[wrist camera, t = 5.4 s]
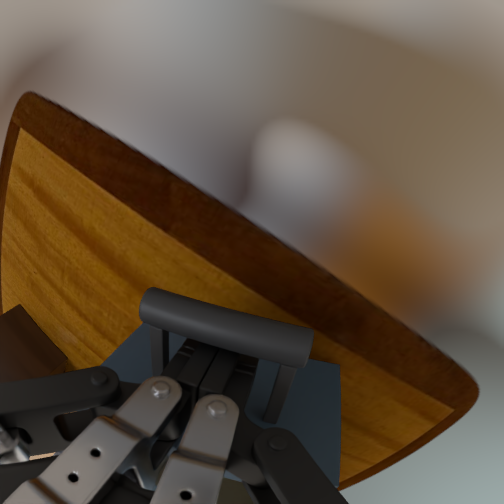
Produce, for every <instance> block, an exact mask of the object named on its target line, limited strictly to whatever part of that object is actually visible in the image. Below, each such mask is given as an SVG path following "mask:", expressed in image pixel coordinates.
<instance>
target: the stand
mask: <svg viewBox="0 0 504 504" xmlns="http://www.w3.org/2000/svg"><path fill="white" fill-rule="evenodd" d="M66 362H67V357H66V356H65V355H64V354H63V353H62V352H61V351H60V350H59V349H58V348H57V347H56V346H55V345H54V344H53V343H52V341H51V340H50V339H49V338H48V337H47V336H46V335H45V334H44V333H43V332H42V330H41V329H40V328H39V327H38V326H37V325H36V324H35V322H34V321H33V320H32V319H31V318H30V316H29V315H28V314H27V313H26V312H25V310H24V309H23V308H22V307H21V305H20V304H19V305H17V306H15V307H14V308H12V309H11V310H9V311H7V312H6V313H4V314H3V315H1V316H0V383H4V382H12V381H19V380H25V379H32V378H38V377H44V376H49V375H55V374H60V373H64V371H65V366H66Z"/></svg>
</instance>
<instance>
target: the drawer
mask: <svg viewBox="0 0 504 504" xmlns="http://www.w3.org/2000/svg"><path fill="white" fill-rule="evenodd" d="M139 316H140V319H141V321H142V322H144V323H143V324H142V325H141V326H140V327H139V328H138V329H136V330H135V331H134V332H133V333H132V334H131V335H130V336H129V337H128V338H127V339H126V340H125V341H124V342H123V343H122V344H121V345H120V346H119V347H118V348H117V349H116V350H115V351H114V352H113V353H112V354H111V355H110V356H109V357H108V358H107V359H106V360H105V361H104V362H103V363H102V365H101V366H105V367H108V368H111V369H112V370H114V371H115V372H116V373H117V375H118V377H119V381H124V382H131V383H138V384H140V383H143V382H144V381H145V380H146V379H148V378H150V377H153V376H160V374H161V373H162V372H163V370H164V369H165V367H166V366H167V365H168V363H169V362H170V361H171V359H172V358H173V356H174V355H175V354H176V353H177V351H178V350H179V348H180V347H181V346H182V344H183V343H184V341H185V340H186V339H187V338H190V339H193V340H196V341H199V342H202V343H206V344H209V345H212V346H216V347H219V348H223V349H226V350H230V351H233V352H237V353H240V354H244V355H248V356H252V357H256V358H259V362H258V367H257V371H256V375H255V379H254V383H253V386H252V389H251V392H250V395H249V398H248V401H247V404H246V407H245V410H244V412H245V414H246V416H247V417H248V418H249V420H250V421H252V422H253V423H254V424H256V425H258V426H259V427H261V428H263V429H266V428H270V427H279V428H284V429H287V430H289V431H290V432H292V433H293V434H294V435H295V436H296V437H297V438H298V439H299V441H300V442H301V443H302V445H303V446H304V447H305V449H306V450H307V451H308V453H309V454H310V455H311V457H312V458H313V459H314V461H315V462H316V463H317V465H318V466H319V467H320V469H321V470H322V471H323V472H324V474H325V475H326V476H327V477H328V479H329V480H330V481H331V482H332V484H333V485H334V486H335V487H336V488H337V487H338V486H339V474H340V449H341V386H340V365H338V364H333V363H328V362H323V361H318V360H313V359H309V356H310V352H311V348H312V344H313V338H314V331H313V329H311V328H306V327H302V326H297V325H293V324H289V323H284V322H280V321H276V320H272V319H268V318H263V317H259V316H255V315H251V314H248V313H244V312H240V311H236V310H232V309H228V308H225V307H221V306H217V305H214V304H210V303H207V302H203V301H199V300H196V299H192V298H189V297H186V296H182V295H179V294H175V293H172V292H169V291H166V290H162V289H159V288H156V287H151V288H149V289H148V290H147V291H146V292H145V293H144V295H143V297H142V300H141V303H140V307H139ZM89 409H90V408H89ZM84 410H86V409H84ZM80 411H81V410H80ZM187 425H188V424H187ZM186 427H187V426H186ZM186 427H185V429H184V431H183V433H182V437H183V435H184V432H185V430H186ZM181 440H182V439H181ZM180 442H181V441H180ZM180 442H179V444H178V445H177V447H176V448H175V450H177V449H178V447H179V445H180ZM167 462H168V460H167ZM167 462H166V463H165V465H164V466H163V468H162V469H161V471H160V472H159V474H158V477H157V480H156V484H155V485H158V483H159V481H160V478H161V476H162V474H163V471H164V469H165V467H166V464H167ZM217 504H254V502H253V501H252V499H251V497H250V496H249V494H248V492H247V490H246V489H245V487H244V485H243V483H242V480H241V479H240V478H238V477H236V476H234V475H233V474H231V473H230V472H228V471H226V470H225V474H224V478H223V482H222V485H221V489H220V493H219V497H218V500H217Z"/></svg>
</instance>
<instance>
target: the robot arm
mask: <svg viewBox="0 0 504 504" xmlns="http://www.w3.org/2000/svg"><path fill="white" fill-rule="evenodd" d="M258 362H259V358H256V357H252V356H248V355H244V354H240V353H237V352H233V351H230V350H226V349H223V348H219V347H216V346H212V345H209V344H206V343H202V342H199V341H196V340H193V339H190V338H187V339H186V340H185V341H184V343H183V344H182V346H181V347H180V348H179V350H178V351H177V353H176V354H175V355H174V356H173V358H172V359H171V361H170V362H169V363H168V365H167V366H166V367H165V369H164V370H163V372H162V373H161V374H160V376H153V377H150V378H148V379H146V380H145V381H144V382H143V383H140V384H138V383H131V382H124V381H119V377H118V375H117V373H116V372H115V371H114V370H112V369H111V368H108V367H105V366H95V367H91V368H86V369H81V370H76V371H71V372H66V373H60V374H55V375H49V376H44V377H38V378H32V379H25V380H19V381H12V382H4V383H0V504H217V500H218V497H219V493H220V489H221V485H222V482H223V478H224V474H225V470H226V471H228V472H230V473H231V474H233V475H234V476H236V477H238V478H240V479H241V480H242V483H243V485H244V487H245V489H246V490H247V492H248V494H249V496H250V497H251V499H252V501H253V502H254V504H348V502H347V501H346V500H345V498H344V497H343V496H342V495H341V494H340V492H339V491H338V490H337V489H336V487H335V486H334V485H333V484H332V482H331V481H330V480H329V479H328V477H327V476H326V475H325V474H324V472H323V471H322V470H321V469H320V467H319V466H318V465H317V463H316V462H315V461H314V459H313V458H312V457H311V455H310V454H309V453H308V451H307V450H306V449H305V447H304V446H303V445H302V443H301V442H300V441H299V439H298V438H297V437H296V436H295V435H294V434H293V433H292V432H290V431H289V430H287V429H284V428H279V427H270V428H266V429H263V428H261V427H259V426H258V425H256V424H254V423H253V422H252V421H250V420H249V418H248V417H247V416H246V414H245V412H244V410H245V407H246V404H247V401H248V398H249V395H250V392H251V389H252V386H253V383H254V379H255V375H256V371H257V367H258ZM89 408H90V409H89ZM84 409H86V410H84ZM80 410H81V411H80ZM75 411H77V412H75ZM70 412H72V413H70ZM65 413H67V414H65ZM187 424H188V425H187ZM186 426H187V427H186ZM185 427H186V430H185V432H184V435H183V437H182V433H183V431H184V429H185ZM181 439H182V440H181ZM180 441H181V442H180ZM179 442H180V445H179V447H178V449H177V450H175V448H176V447H177V445H178V444H179ZM58 451H63V452H62V453H61V454H60V455H56V456H51V457H46V458H40V459H35V460H29V457H30V456H34V455H41V454H47V453H53V452H58ZM167 460H168V462H167ZM166 462H167V464H166V467H165V469H164V471H163V474H162V476H161V478H160V481H159V483H158V485H157V488H156V490H155V491H153V488H154V486H155V484H156V480H157V477H158V474H159V472H160V471H161V469H162V468H163V466H164V465H165V463H166Z"/></svg>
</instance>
